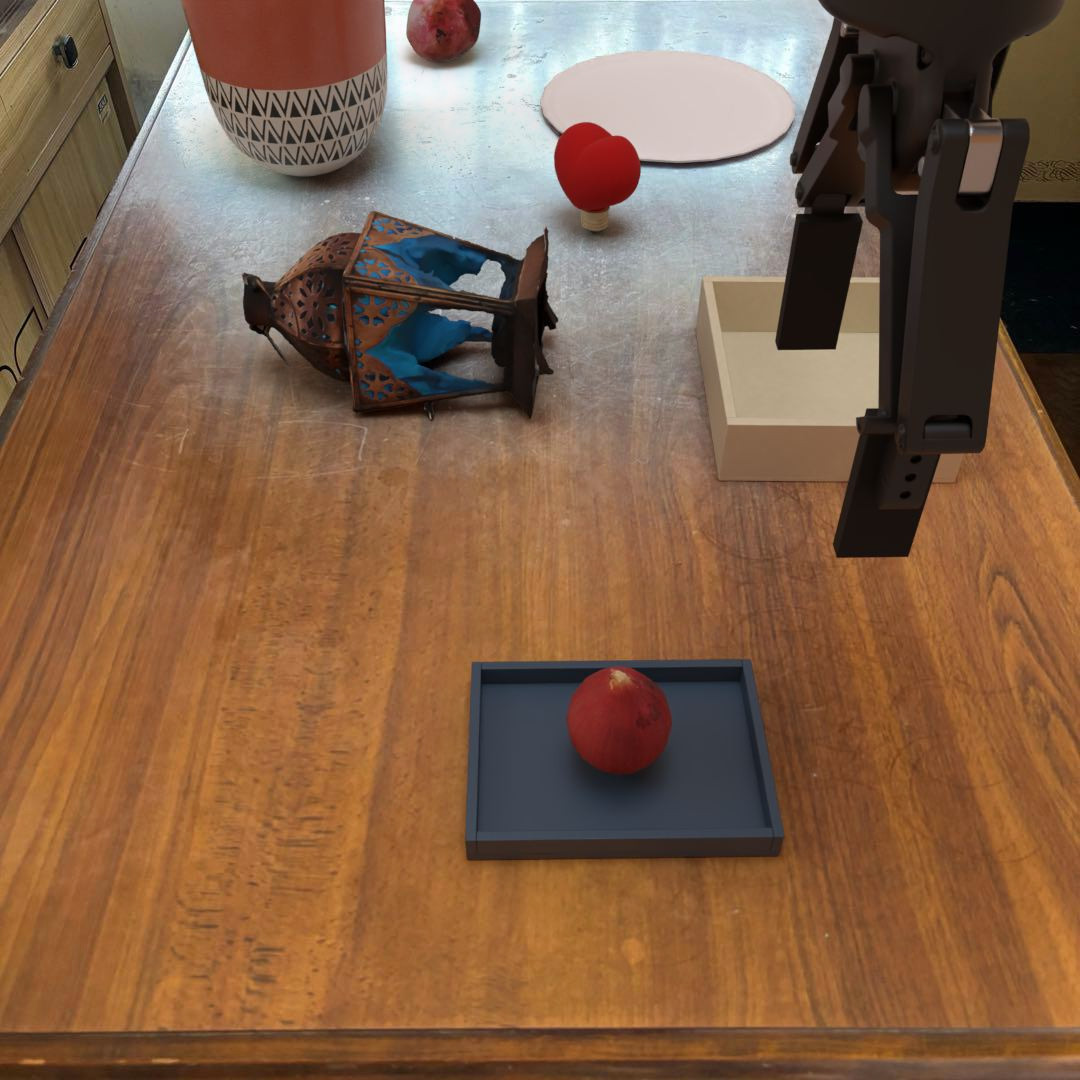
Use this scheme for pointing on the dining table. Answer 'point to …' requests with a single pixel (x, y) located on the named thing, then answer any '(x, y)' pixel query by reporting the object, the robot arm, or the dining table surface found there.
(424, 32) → the fruit
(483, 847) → the tray
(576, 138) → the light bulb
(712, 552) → the dining table surface
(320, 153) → the planter
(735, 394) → the beige open rectangular box
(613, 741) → the onion
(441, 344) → the lantern
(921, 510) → the robot arm
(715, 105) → the plate
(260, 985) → the dining table surface
